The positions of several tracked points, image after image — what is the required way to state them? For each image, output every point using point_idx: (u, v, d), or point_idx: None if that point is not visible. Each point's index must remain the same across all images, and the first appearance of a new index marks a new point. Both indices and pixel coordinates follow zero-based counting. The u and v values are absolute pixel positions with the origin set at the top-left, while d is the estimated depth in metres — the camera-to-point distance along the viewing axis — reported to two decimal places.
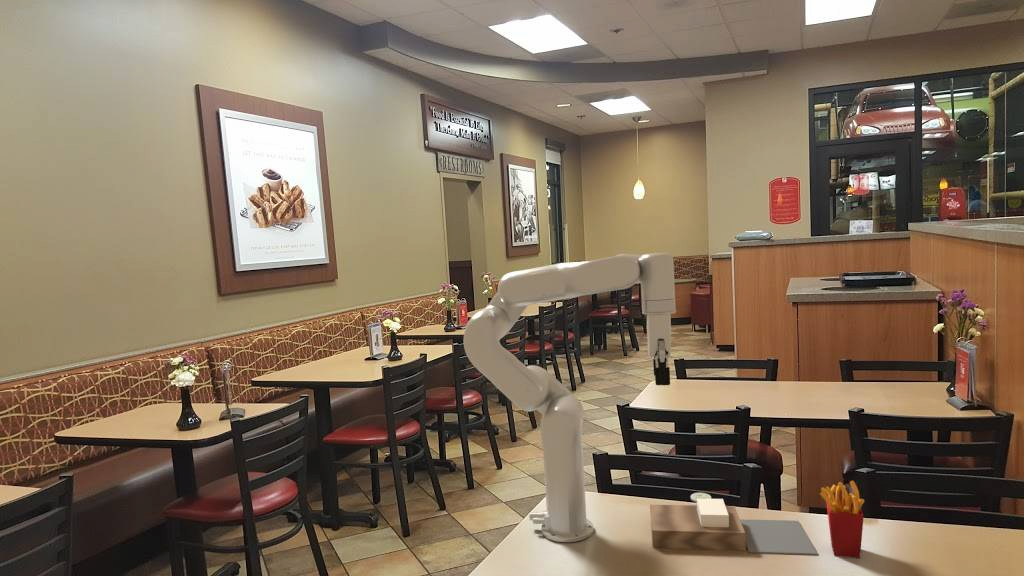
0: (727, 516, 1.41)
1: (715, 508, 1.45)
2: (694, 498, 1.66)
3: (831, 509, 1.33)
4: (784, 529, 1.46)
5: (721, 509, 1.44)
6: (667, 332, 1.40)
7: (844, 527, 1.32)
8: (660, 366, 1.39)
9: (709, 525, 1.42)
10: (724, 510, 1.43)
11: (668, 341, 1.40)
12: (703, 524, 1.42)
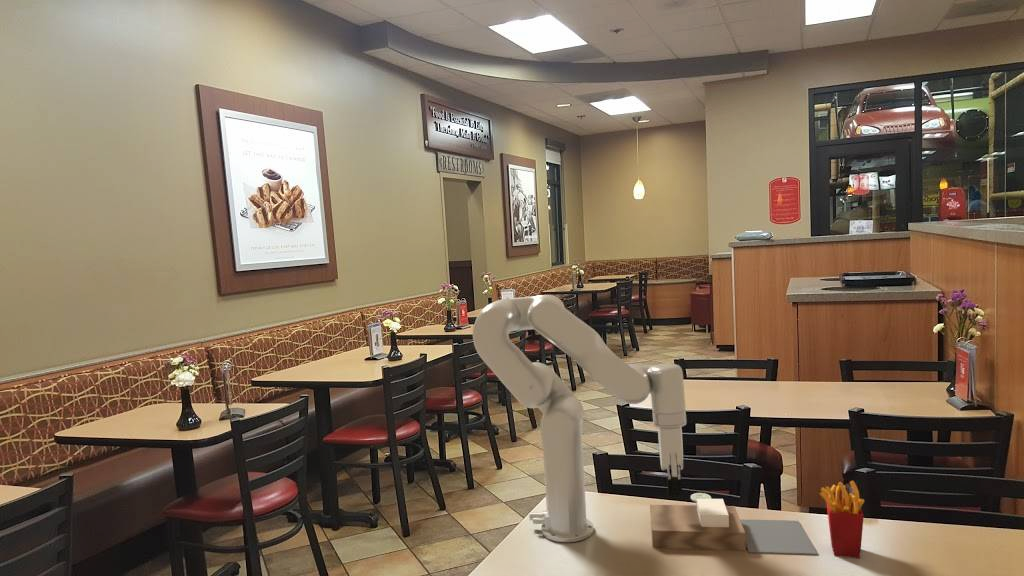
0: (727, 516, 1.41)
1: (715, 508, 1.45)
2: (694, 498, 1.66)
3: (831, 509, 1.33)
4: (784, 529, 1.46)
5: (721, 509, 1.44)
6: (679, 446, 1.41)
7: (844, 527, 1.32)
8: None
9: (709, 525, 1.42)
10: (724, 510, 1.43)
11: (680, 455, 1.41)
12: (703, 524, 1.42)
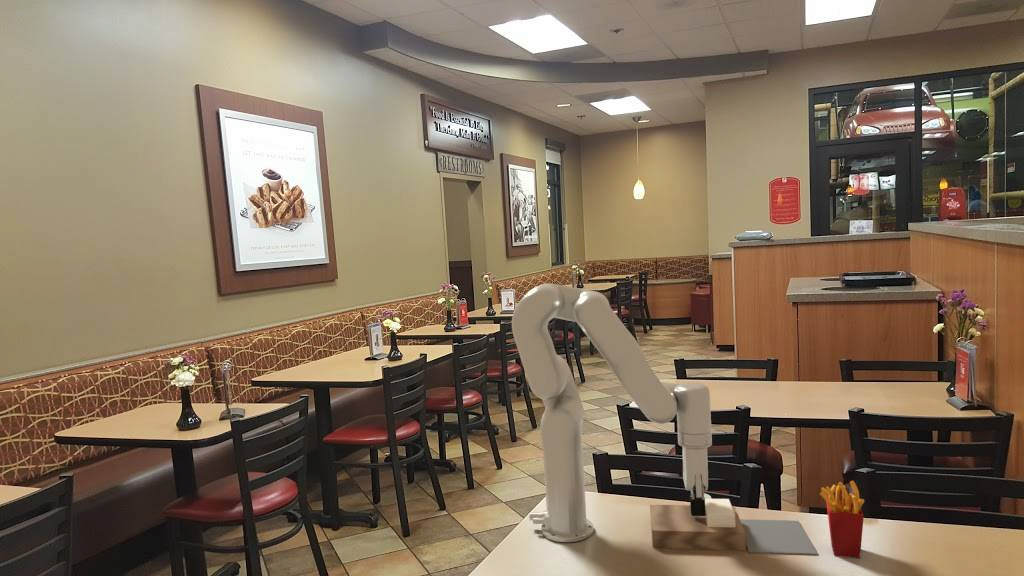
0: (733, 516, 1.41)
1: (721, 508, 1.44)
2: None
3: (831, 509, 1.33)
4: (784, 529, 1.46)
5: (727, 509, 1.44)
6: (704, 467, 1.41)
7: (844, 527, 1.32)
8: None
9: (716, 526, 1.41)
10: (730, 510, 1.43)
11: (705, 476, 1.41)
12: (710, 524, 1.42)
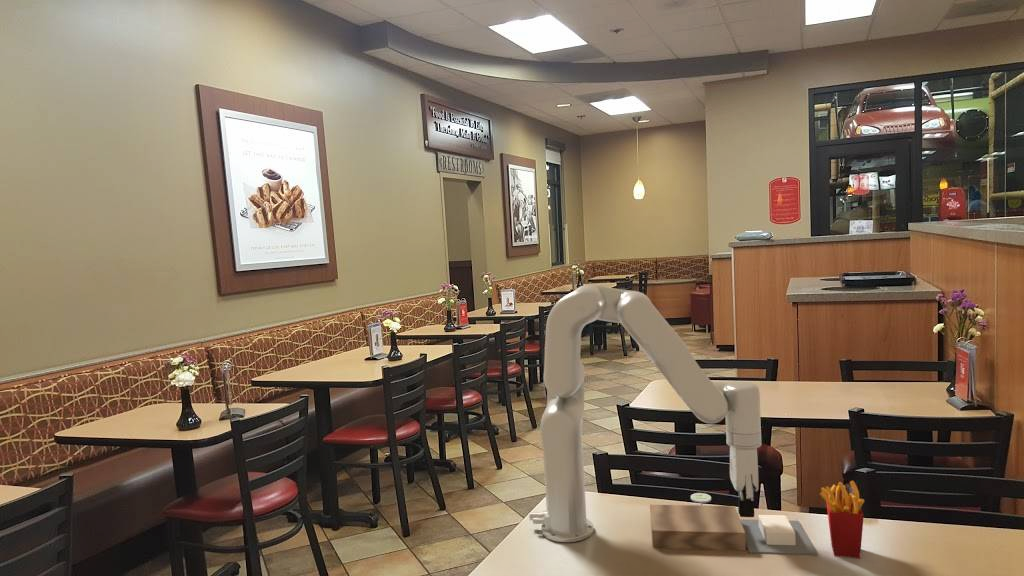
0: (767, 543, 1.40)
1: None
2: (694, 498, 1.66)
3: (831, 509, 1.33)
4: None
5: None
6: (755, 467, 1.39)
7: (844, 527, 1.32)
8: None
9: (786, 533, 1.39)
10: None
11: (756, 476, 1.39)
12: (792, 535, 1.38)
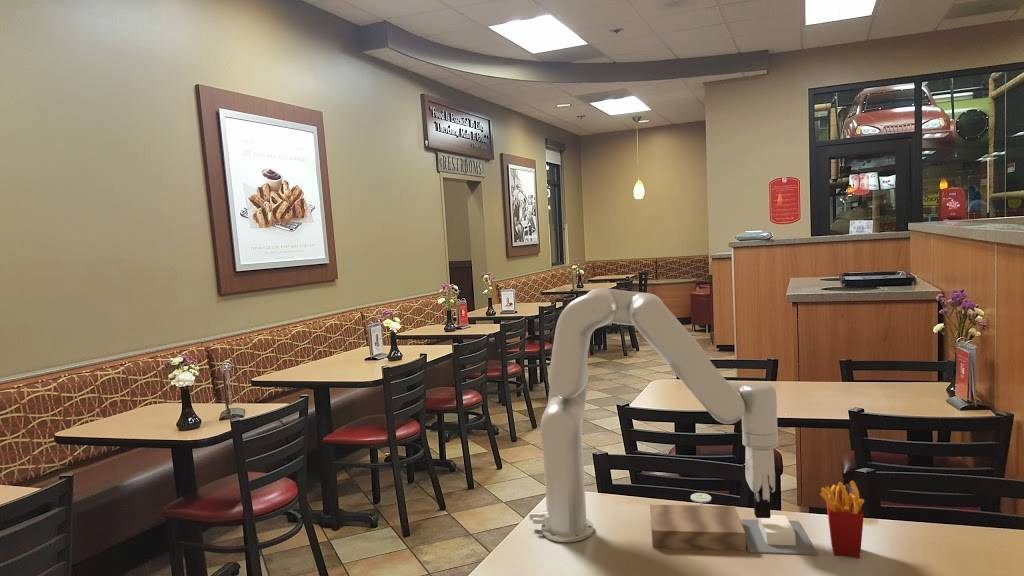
0: (767, 543, 1.40)
1: None
2: (694, 498, 1.66)
3: (831, 509, 1.33)
4: None
5: None
6: (772, 468, 1.38)
7: (844, 527, 1.32)
8: None
9: (786, 533, 1.39)
10: None
11: (773, 477, 1.38)
12: (792, 535, 1.38)
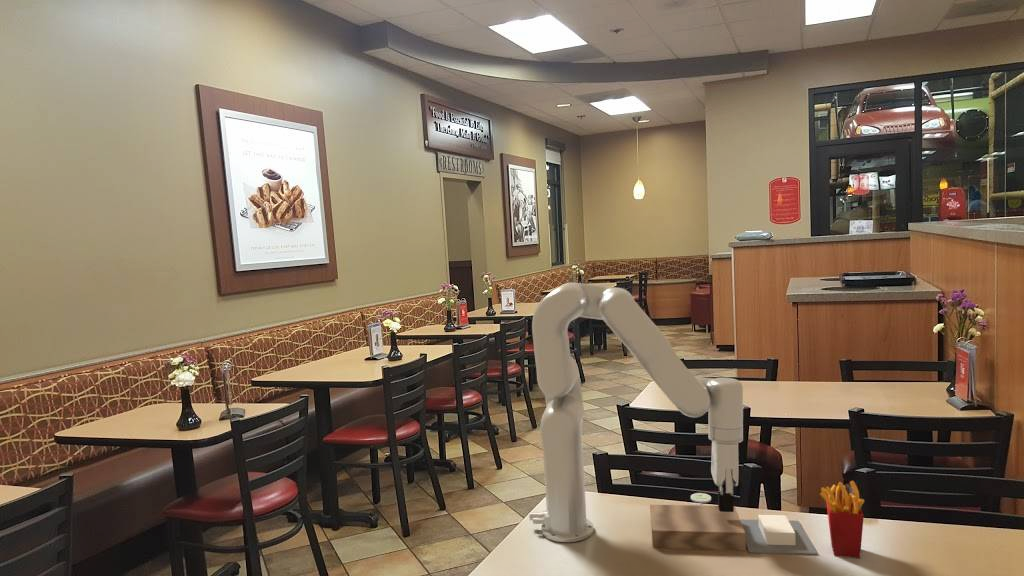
0: (767, 543, 1.40)
1: None
2: (694, 498, 1.66)
3: (831, 509, 1.33)
4: None
5: None
6: (735, 462, 1.39)
7: (844, 527, 1.32)
8: None
9: (786, 533, 1.39)
10: None
11: (736, 471, 1.39)
12: (792, 535, 1.38)
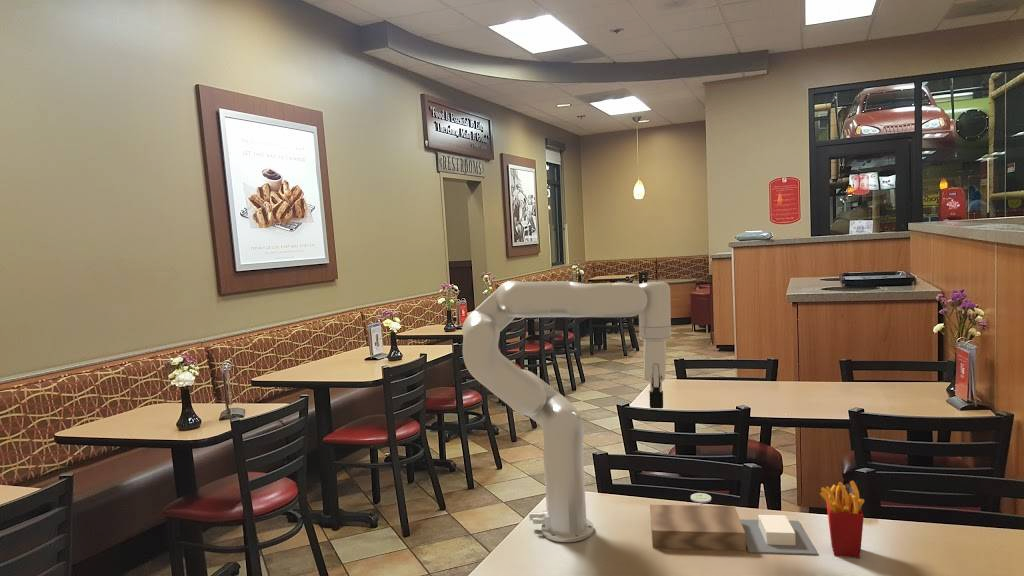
0: (767, 543, 1.40)
1: None
2: (694, 498, 1.66)
3: (831, 509, 1.33)
4: None
5: None
6: (662, 358, 1.48)
7: (844, 527, 1.32)
8: None
9: (786, 533, 1.39)
10: None
11: (662, 366, 1.48)
12: (792, 535, 1.38)
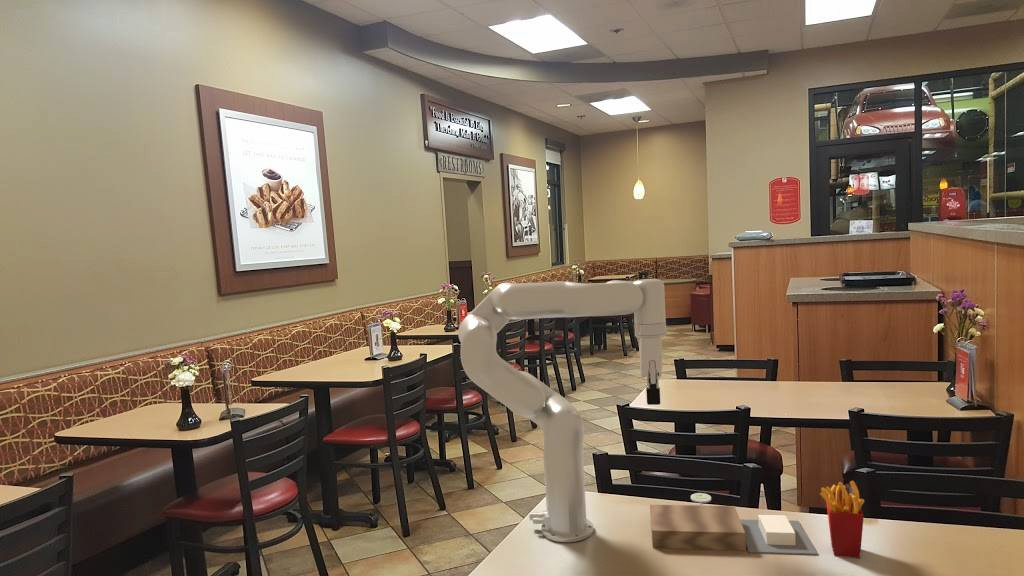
0: (767, 543, 1.40)
1: None
2: (694, 498, 1.66)
3: (831, 509, 1.33)
4: None
5: None
6: (658, 354, 1.48)
7: (844, 527, 1.32)
8: None
9: (786, 533, 1.39)
10: None
11: (659, 363, 1.48)
12: (792, 535, 1.38)
